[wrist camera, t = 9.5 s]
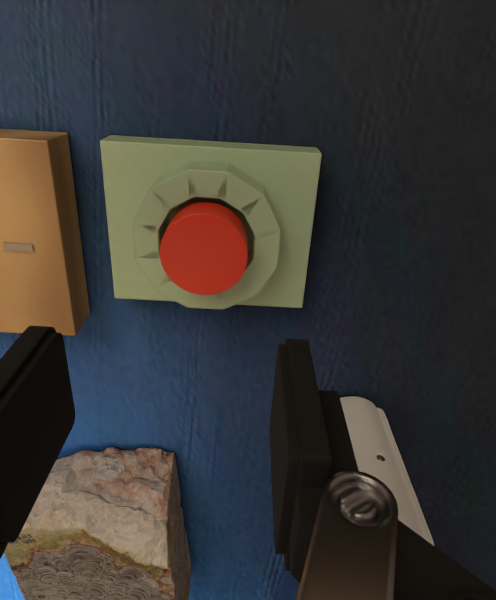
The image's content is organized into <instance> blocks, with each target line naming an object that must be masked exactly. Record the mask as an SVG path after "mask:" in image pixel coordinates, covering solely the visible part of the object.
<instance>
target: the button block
mask: <svg viewBox="0 0 496 600" xmlns="http://www.w3.org/2000/svg"><path fill="white" fill-rule="evenodd" d="M100 147H101V158H102V169H103V179H104V190H105V201H106V212H107V222H108V233H109V244H110V254H111V265H112V276H113V287H114V297H115V298H122V299H141V300H160V301H176V302H178V303H180V304H182V305H183V306H185V307H188V308H204V309H226V308H228V307H231V306H233V305H254V306H273V307H292V308H302V305H303V298H304V290H305V282H306V274H307V266H308V258H309V251H310V243H311V235H312V227H313V219H314V211H315V203H316V196H317V188H318V180H319V172H320V164H321V156H322V154H321V152H320V151H319V150H318V148H317V147H302V146H286V145H269V144H252V143H235V142H218V141H202V140H185V139H168V138H151V137H135V136H118V135H110V136H108V137H106V138H104V139H102V140H100ZM198 202H212V203H217V204H220V205H223V206H225V207H227V208H229V209H230V210H231V211H233V212H234V213H235V214H236V215H237V216H238V217H239V218H240V219H241V221H242V223H243V224H244V226H245V228H246V231H247V235H248V262H247V266H246V269H245V272H244V274H243V275H242V277H241V278H240V280H239V281H238V282H237V283H236V284H235V285H234V286H232V287H231V288H229V289H228V290H226V291H223V292H221V293H218V294H213V295H199V294H194V293H191V292H188V291H186V290H184V289H182V288H180V287H179V286H177V285H176V284H175V283H174V282H173V281H172V280H171V279H170V278H169V277H168V275H167V274H166V272H165V271H164V269H163V266H162V264H161V260H160V244H161V240H162V237H163V235H164V233H165V231H166V229H167V227H168V226H169V224H170V222H171V220H172V218H173V217H174V216H175V215H176V214H177V213H178V212H179V211H180V210H181V209H183V208H184V207H186V206H188V205H191V204H194V203H198Z"/></svg>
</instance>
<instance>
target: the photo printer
mask: <svg viewBox="0 0 496 600" xmlns="http://www.w3.org/2000/svg"><path fill="white" fill-rule="evenodd" d="M340 401H341V404H342V408H343V412H344V416H345V420H346V424H347V428H348V431H349V435H350V439H351V443H352V447H353V451H354V455H355V458H356V462H357V466H358V470H359V471H360V472H365V473H367V474H370V475H372V476H374V477H376V478H377V479H379V480H380V481H382V482H383V483H384V484H385V485H386V486H387V487H388V488H389V489H390V490H391V491H392V493H393V495H394V497H395V499H396V501H397V505H398V520H399V521H401V522H402V523H404V524H405V525H406V526H408V527H409V528H410V529H412V530H413V531H414V532H416V533H417V534H418V535H420V536H421V537H423V538H424V539H425V540H427V541H428V542H429V543H431V544H432V545H433V546H434V542H433V539H432V536H431V534H430V531H429V529H428V526H427V524H426V521H425V518H424V516H423V513H422V510H421V508H420V505H419V502H418V500H417V497H416V495H415V492H414V489H413V487H412V484H411V482H410V479H409V476H408V474H407V471H406V468H405V466H404V463H403V460H402V458H401V455H400V453H399V450H398V447H397V445H396V442H395V439H394V437H393V434H392V431H391V429H390V426H389V423H388V420H387V418H386V415H385V413H384V411H383V410H382V409H380V408H377V407H376V406H375V405H374V404H373V403H372V402H371V401H369V400H367V399H365V398H361V397H355V396H349V397H342V398H340Z"/></svg>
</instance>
